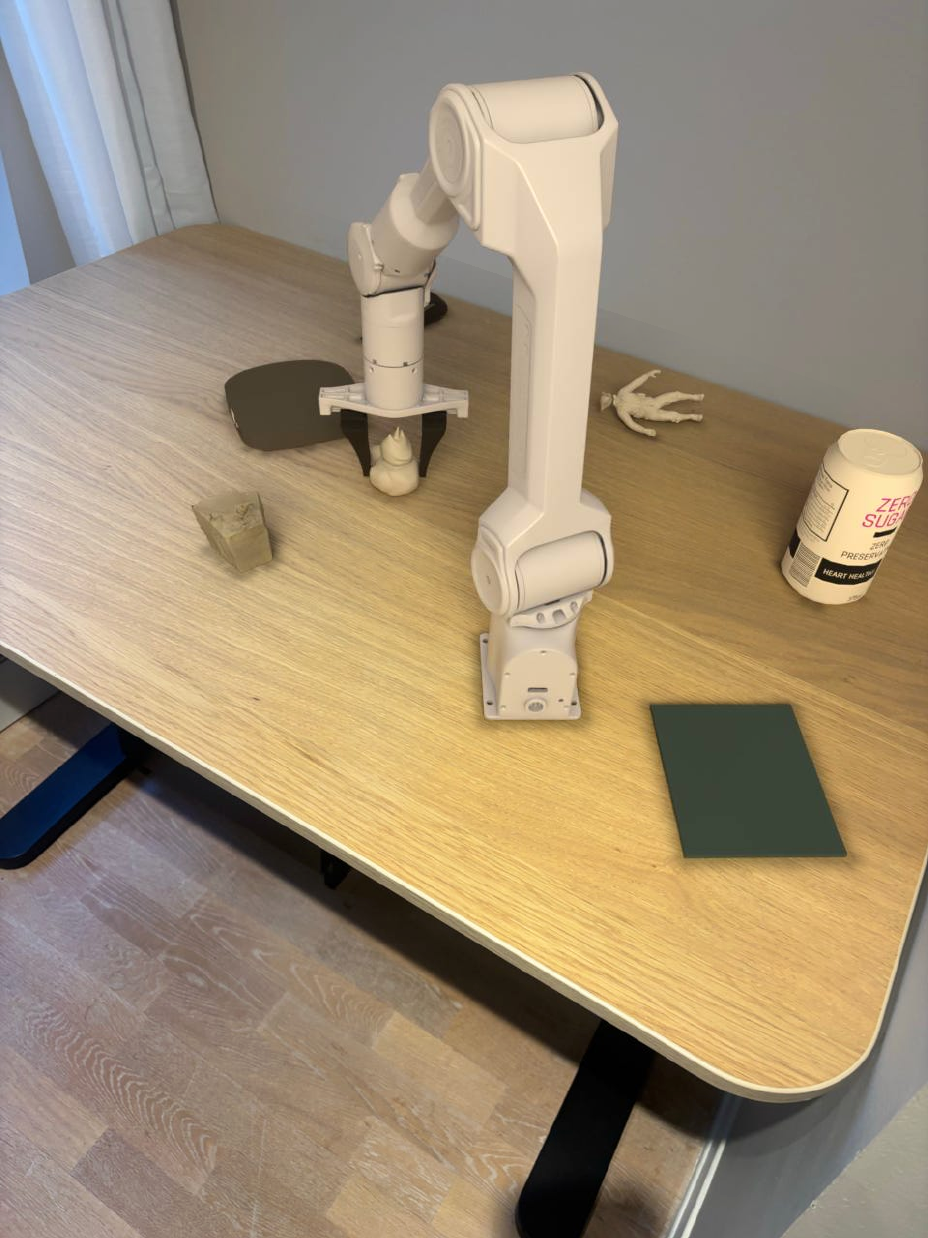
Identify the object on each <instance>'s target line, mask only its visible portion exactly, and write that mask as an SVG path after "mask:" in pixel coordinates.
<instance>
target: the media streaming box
mask: <svg viewBox="0 0 928 1238" xmlns="http://www.w3.org/2000/svg"><path fill="white" fill-rule="evenodd" d="M351 384H356V382H355V380H354V379H353V377H352V376H351V374H350V373H349V372H348V370H347V369H346V368H345V367H344V366H342V365H340V364H338V363H334V362H332V361H327V360H323V359H322V360H320V359H292V360H284V361H276V362H271V363H266V364H261V365H258V366H254V367H251V368H246V369H244V370H242V371H240V372H237V373H236V374H234V375H233V376H231V377H230V378H229V379H227V380H226V382H225V383H224V386H223V387H224V393H225V399H226V403H227V407H228V411H229V414H230V417H231V419H232V422H233V426H234V427H235V430H236V433H237V434H238V436H239V438H240V440H241V442H242V443H243V444H245V445H246V446H247V447H251V448H253V449H256V450H260V451H277V450H283V449H284V450H285V449H290V448H295V447H302V446H308V445H313V444H318V443H324V442H329V441H334V440H338V439H343V438H346V437H345V435H344V434H343V433H342V430H341V427H340V422H341V414H340V412H332V413H331V414H330V415H320V408H319V393H320V388H328V387H339V386H345V385H351Z"/></svg>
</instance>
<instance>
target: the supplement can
mask: <svg viewBox="0 0 928 1238" xmlns="http://www.w3.org/2000/svg"><path fill="white" fill-rule="evenodd" d="M923 462H924V458H923V456H922V454H921V452H920V450H919V449H917V447H916V446H914V444H913V443H911V442H910V441H908V440H907V439H905V438H903V437H901V436H899V435H897V434H893V433H891V432H888V431H885V430H880V429H875V428H857V429H851V430H848V431H846V432H845V433H843V434H841V435H840V438H839V439H837V440H836V441H835V442H833V443H832V444H831V445H829V446H828V447H827V450H826V452H825V454H824V456H823V459H822V461H821V464H820V465H819V469H818V471H817V474H816V476H815V478H814V481H813V484H812V486H811V488H810V490H809V494H808V496H807V498H806V500H805V503H804V506H803V508H802V511H801V514H800V516H799V518H798V520H797V524H796V526H795V528H794V531H793V533H792V536H791V539H790V541H789V542H788V543H789V544H788V545H787V548H786V551H785V553H784V556H783V558H782V561H781V563H780V565H781V572H782V574H783V576H784V578H785V579H786V581H787V582H788V584H789V586H790V587H791V588H792V589H794V591H796V592H797V593H798V594H799V595H800V596H802V597H805V598H807V599H808V600H810V601H813V602H815V603H816V602H817V603H820V604H824V605H843V604H844V605H845V604H848V603H853V602H856V601H858V600H860V599H861V598H862V597H864V596H865V595H866V593H867V592H868V589H869V588H870V585H871V584H872V582H873V581H874V578H875V576H876V574H877V572H878V570H879V568H880V566H881V565H882V563H883V560H884V558H885V556H886V554H887V552H888V550H889V548H890V546H891V544H892V542H893V541H894V538H895V537H896V535H897V533H898V531H899V529H900V527H901V525H902V524H903V523H902V522H904V519H905V517H906V515H907V513H908V511H909V509H910V507H911V505H912V503H913V501H914V499H915V497H916V495H917V493H918V491H919V490H920V488H921V486H922V483H923V479H924V473H923Z"/></svg>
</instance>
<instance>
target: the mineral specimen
mask: <svg viewBox="0 0 928 1238" xmlns="http://www.w3.org/2000/svg"><path fill="white" fill-rule="evenodd" d="M190 506H191V511H192V513H193V514H194V517H195V519H196V521H197V523H198V524H199V526H200V529H201V531H202V533H203V534H204V536H205V538H206V540H207V541H208V544H209V546H210V547H211V548H212V549H214V550H215V551H216V552H218V553H219V554H220V555H221V556H222V557H223V558H224V560H226V561H227V562H228V563H229V564H231V565H232V566H233V567H234V569H236V570H237V571H238V572H239V573H242V574H243V573H245V572H248V571H250V570H253V569H254V568H256V567H259V566H261V565H263V564H267V563H270V562H271V561H272V560H273V554H272V553H273V548H272V544H271V540H270V536H269V532H268V529H267V521H266V515H265V509H264V506H263V502H262V499H261V496H260V493H259V491H258V490H248V491H244V492H243V493H240V492H238V491H237V490H235V489H233V490H229V491H225V492H223V493H221V494H217V495H215V496H212V497H209V498H206V499H204V500H200V501H198V503H196V504H193V505H190Z"/></svg>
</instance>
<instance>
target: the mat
mask: <svg viewBox="0 0 928 1238" xmlns="http://www.w3.org/2000/svg"><path fill="white" fill-rule="evenodd" d="M649 710H650V715H651V719H652V722H653V727H654V732H655V737H656V740H657V745H658V749H659V754H660V758H661V762H662V767H663V770H664V775H665V780H666V783H667V787H668V792H669V797H670V801H671V806H672V809H673V814H674V818H675V823H676V826H677V832H678V835H679V840H680V844H681V848H682V853H683V857H684V859H738V858H739V859H742V858H743V859H744V858H745V859H746V858H747V859H748V858H749V859H750V858H751V859H752V858H753V859H757V858H758V859H759V858H761V859H762V858H764V859H765V858H846V857H847V856H848V853H847V850H846V848H845V845H844V842H843V840H842V836H841V834H840V831H839V828H838V826H837V824H836V821H835V818H834V816H833V813H832V810H831V807H830V804H829V802H828V799H827V797H826V794H825V791H824V789H823V786H822V784H821V781H820V778H819V776H818V773H817V770H816V767H815V765H814V762H813V759H812V757H811V754H810V752H809V749H808V746H807V744H806V741H805V738H804V735H803V733H802V731H801V728H800V724H799V723H798V720H797V717H796V714H795V711H794V709H793V706H792V705H791V704H650V705H649Z"/></svg>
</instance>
